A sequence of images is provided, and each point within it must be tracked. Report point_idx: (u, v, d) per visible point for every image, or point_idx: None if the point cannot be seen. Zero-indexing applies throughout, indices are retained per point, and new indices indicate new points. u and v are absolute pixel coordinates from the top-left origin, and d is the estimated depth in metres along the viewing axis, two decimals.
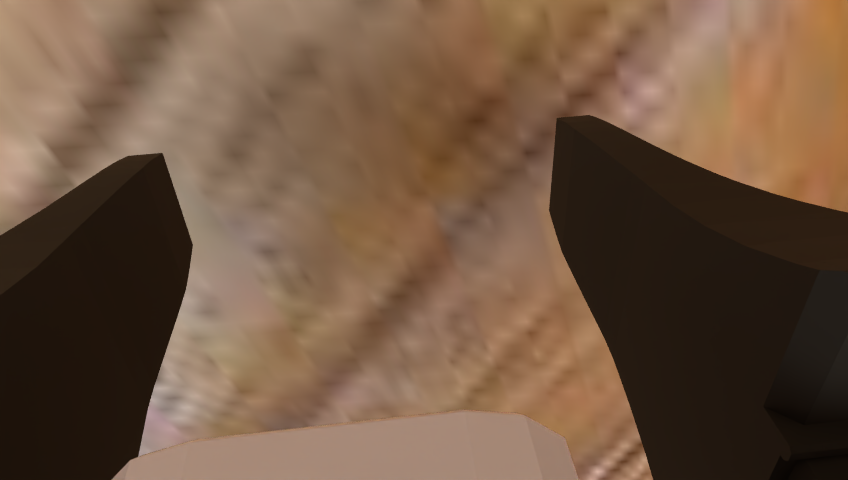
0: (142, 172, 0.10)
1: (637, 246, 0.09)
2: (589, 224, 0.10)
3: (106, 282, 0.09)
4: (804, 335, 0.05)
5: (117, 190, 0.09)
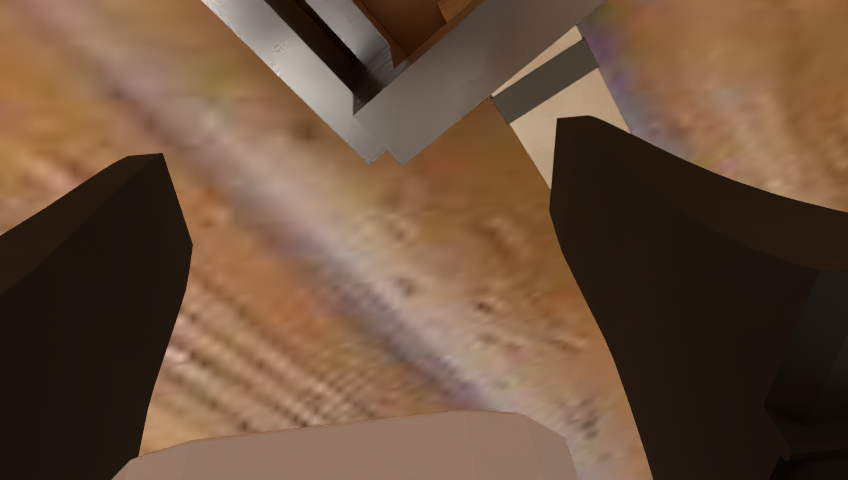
0: (142, 172, 0.10)
1: (637, 246, 0.09)
2: (590, 224, 0.10)
3: (106, 282, 0.09)
4: (803, 335, 0.05)
5: (117, 190, 0.09)
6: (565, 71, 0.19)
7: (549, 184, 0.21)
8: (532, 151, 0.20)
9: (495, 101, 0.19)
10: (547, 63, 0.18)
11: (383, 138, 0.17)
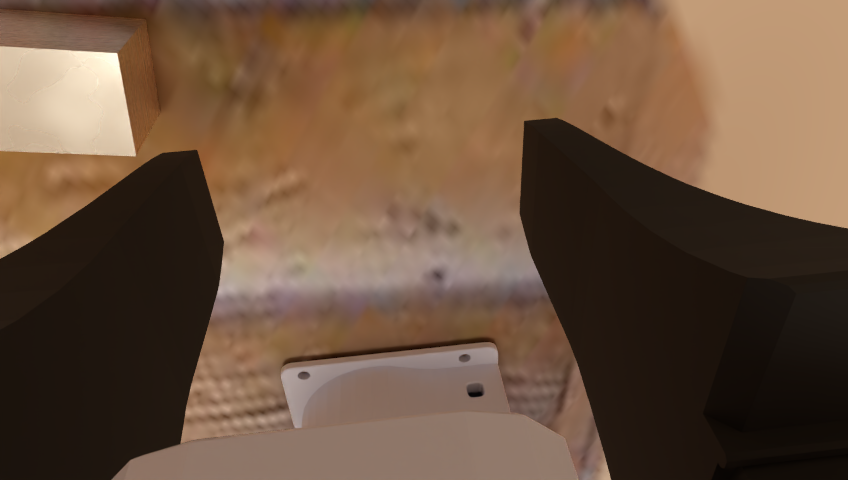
0: (180, 169, 0.10)
1: (595, 250, 0.09)
2: (554, 227, 0.10)
3: (150, 278, 0.09)
4: (736, 343, 0.05)
5: (159, 186, 0.09)
6: None
7: None
8: None
9: None
10: None
11: None
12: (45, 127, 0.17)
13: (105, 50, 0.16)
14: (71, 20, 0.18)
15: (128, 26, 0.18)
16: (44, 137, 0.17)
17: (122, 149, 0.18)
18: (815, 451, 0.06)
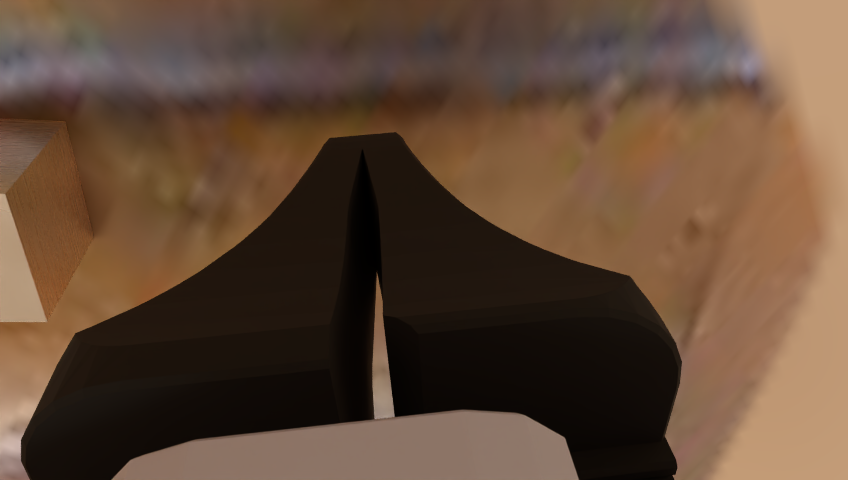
0: (362, 152, 0.10)
1: None
2: (377, 244, 0.10)
3: (357, 257, 0.09)
4: (396, 380, 0.05)
5: (357, 168, 0.09)
6: None
7: None
8: None
9: None
10: None
11: None
12: None
13: None
14: None
15: (37, 137, 0.13)
16: None
17: (27, 314, 0.12)
18: None
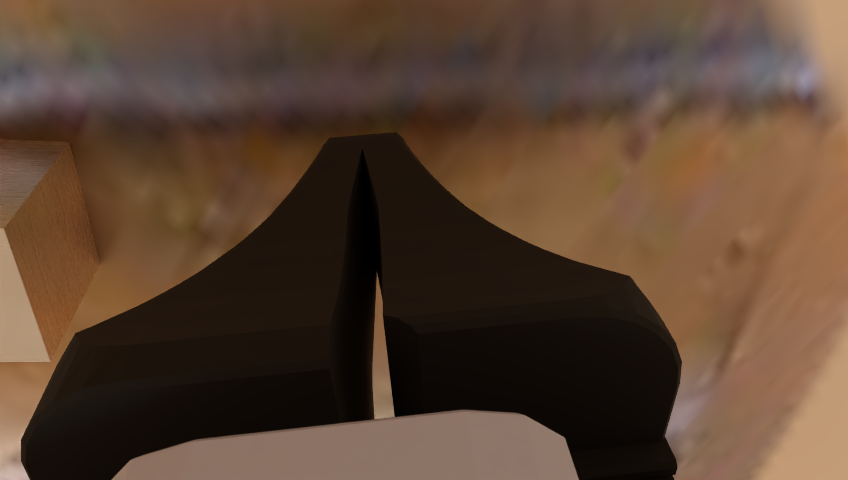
0: (362, 152, 0.10)
1: None
2: (376, 244, 0.10)
3: (357, 257, 0.09)
4: (396, 380, 0.05)
5: (357, 168, 0.09)
6: None
7: None
8: None
9: None
10: None
11: None
12: None
13: None
14: None
15: (38, 162, 0.12)
16: None
17: (28, 354, 0.12)
18: None
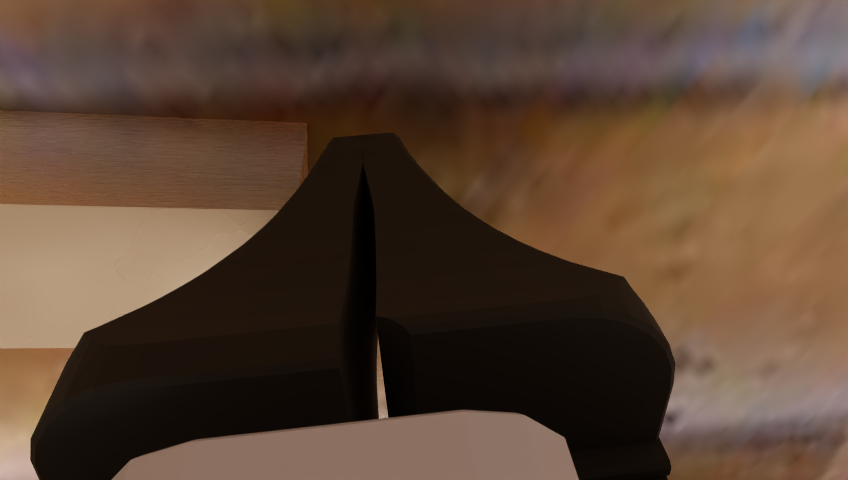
0: None
1: None
2: (373, 245, 0.10)
3: (362, 257, 0.09)
4: (390, 380, 0.05)
5: (362, 168, 0.09)
6: None
7: None
8: None
9: None
10: None
11: None
12: None
13: (277, 205, 0.10)
14: (201, 139, 0.12)
15: (289, 147, 0.12)
16: None
17: None
18: None
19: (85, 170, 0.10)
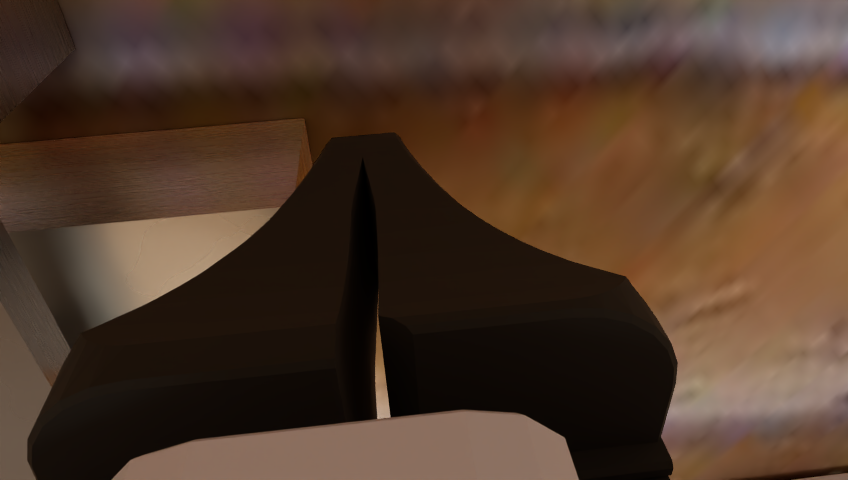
0: None
1: None
2: (374, 245, 0.10)
3: (361, 257, 0.09)
4: (392, 380, 0.05)
5: (360, 168, 0.09)
6: None
7: None
8: None
9: None
10: None
11: None
12: None
13: (273, 203, 0.10)
14: (199, 146, 0.12)
15: (286, 144, 0.12)
16: None
17: None
18: None
19: (88, 191, 0.11)
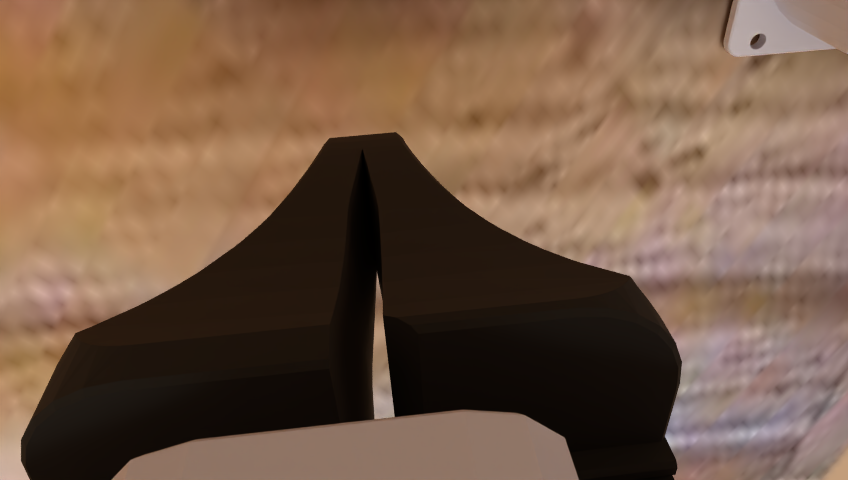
0: (362, 152, 0.10)
1: None
2: (377, 244, 0.10)
3: (357, 257, 0.09)
4: (397, 380, 0.05)
5: (357, 168, 0.09)
6: None
7: None
8: None
9: None
10: None
11: None
12: None
13: None
14: None
15: None
16: None
17: None
18: None
19: None
